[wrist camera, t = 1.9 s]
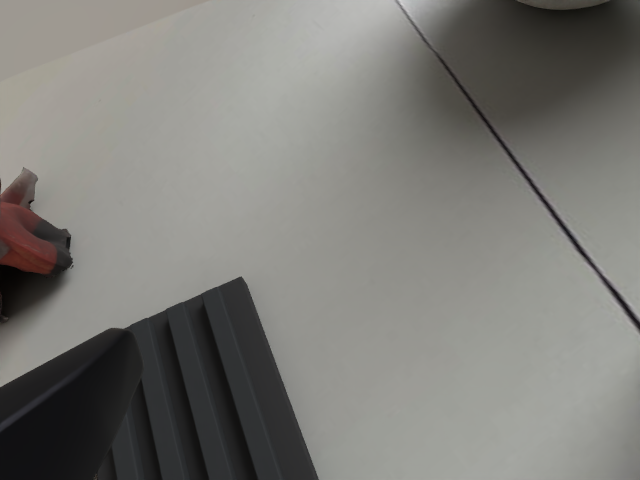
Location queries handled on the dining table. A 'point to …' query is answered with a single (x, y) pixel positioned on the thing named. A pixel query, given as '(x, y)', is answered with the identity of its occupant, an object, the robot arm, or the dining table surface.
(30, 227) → the stuffed fox
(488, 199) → the dining table surface
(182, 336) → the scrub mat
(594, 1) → the decorative sphere
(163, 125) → the dining table surface
